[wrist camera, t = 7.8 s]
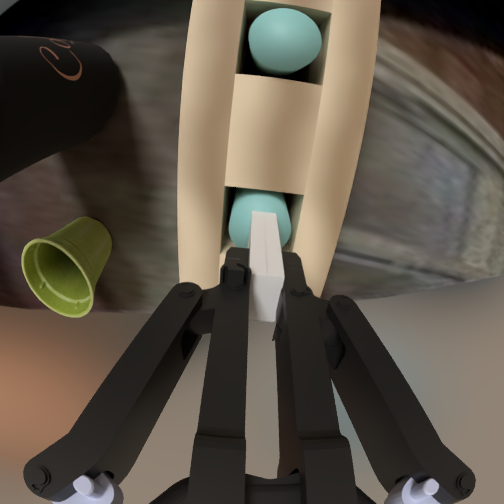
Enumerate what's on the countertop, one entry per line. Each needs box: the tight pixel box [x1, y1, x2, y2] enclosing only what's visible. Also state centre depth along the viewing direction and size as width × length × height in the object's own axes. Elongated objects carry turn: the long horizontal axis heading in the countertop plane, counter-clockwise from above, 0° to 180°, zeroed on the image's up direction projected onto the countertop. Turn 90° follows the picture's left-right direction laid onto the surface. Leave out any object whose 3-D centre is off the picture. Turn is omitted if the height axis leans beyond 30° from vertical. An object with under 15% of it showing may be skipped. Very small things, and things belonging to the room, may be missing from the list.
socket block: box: [177, 0, 381, 298], centre depth 19 cm, size 11×25×9 cm, turn 174°
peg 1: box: [249, 8, 322, 78], centre depth 15 cm, size 4×4×8 cm
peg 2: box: [229, 187, 291, 248], centre depth 22 cm, size 4×4×8 cm
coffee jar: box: [0, 36, 119, 182], centre depth 13 cm, size 11×11×18 cm
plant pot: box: [22, 217, 112, 317], centre depth 26 cm, size 9×9×9 cm
